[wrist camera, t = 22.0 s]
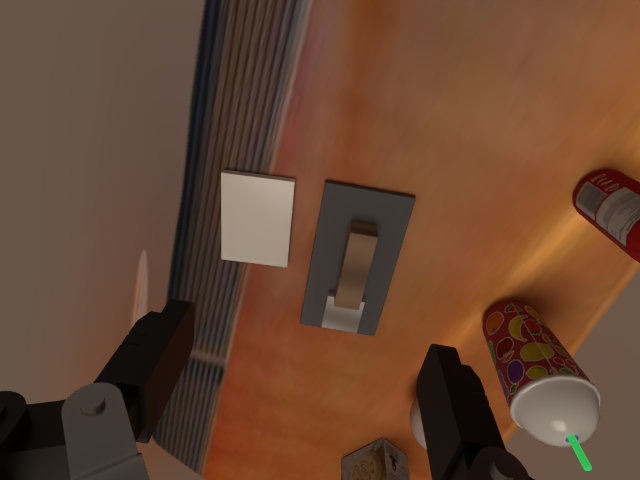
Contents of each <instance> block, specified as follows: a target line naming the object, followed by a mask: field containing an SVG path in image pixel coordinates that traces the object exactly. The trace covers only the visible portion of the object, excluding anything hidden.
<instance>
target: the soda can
mask: <svg viewBox="0 0 640 480" xmlns="http://www.w3.org/2000/svg"><path fill="white" fill-rule="evenodd" d="M573 205H574V207H575V209H576V210H577V212H578V213H579V214H580V215H582V216H583V217H584V218H585V219H586V220H588V221H589V222H590V223H591V224H592V225H594V226H595V227H596V228H597V229H598V230H600V231H601V232H602V233H603V234H604V235H606V236H607V237H608V238H609V239H610V240H612V241H613V242H614V243H615V244H616V245H618V246H619V247H620V248H621V249H622V250H623V251H625V252H626V253H627V254H628V255H629V256H631V257H632V258H633V259H635V260H636V261H638V262H639V263H640V182H638V181H636V180H634V179H633V178H631V177H629V176H627V175H625V174H624V173H622V172H620V171H617V170H612V169H605V170H600V171H597V172H595V173H592V174H591V175H589V176H588V177H586V178H585V179H584V180H583V181H582V182H581V183H580V184H579V186H578V187H577V189H576V191H575V193H574V195H573Z"/></svg>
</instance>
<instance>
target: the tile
mask: <svg viewBox="0 0 640 480" xmlns="http://www.w3.org/2000/svg"><path fill="white" fill-rule="evenodd" d="M295 180H296V179H293V178H285V177H277V176H270V175H262V174H254V173H246V172H239V171H231V170H223V171H222V173H221V219H222V259H225V260H233V261H241V262H249V263H257V264H265V265H272V266H280V267H287V265H288V259H289V248H290V237H291V225H292V214H293V203H294V191H295Z"/></svg>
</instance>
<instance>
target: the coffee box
mask: <svg viewBox="0 0 640 480" xmlns="http://www.w3.org/2000/svg"><path fill="white" fill-rule="evenodd" d="M341 480H410V477H409V470H408V463H407V456H406V455H405V454H404V453H402V452H401V451H400V450H398V449H397V448H396V447H395V446H393V445H392V444H391V443H389V442H388V441H387V440H386V439H384V438H381V439H379V440H377V441H375V442H373V443H371V444H369V445H367V446H365V447H363V448H361V449H360V450H358V451H356V452H354V453H352V454H350V455H348V456H346V457H344V458H342V459H341Z"/></svg>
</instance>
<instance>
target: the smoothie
mask: <svg viewBox="0 0 640 480" xmlns="http://www.w3.org/2000/svg"><path fill="white" fill-rule="evenodd" d="M483 332H484V335H485V338H486V341H487V344H488V347H489V350H490V353H491V356H492V359H493V362H494V365H495V368H496V371H497V374H498V377H499V380H500V383H501V386H502V389H503V392H504V394H505V397H506V400H507V403H508V406H509V409H510V413H511V418H512V419H513V420H514V422H515V423H516V424H517V425H518V426H519V427H521V428H522V429H524V430H525V431H526V432H528V433H529V434H530V435H531V436H533V437H535V438H536V439H538V440H539V441H541V442H543V443H545V444H548V445H551V446H555V447H566V448H567V447H573V449H574V451H575V453H576V455H577V456H578V459H579V461H580V462H581V464H582V466H583V468H584V470H585V471H590V470H591V469H592V467H591V465H590V463H589V461H588V459H587V458H586V456H585V454H584V452H583V450H582V448H581V447H580V444H582V443H584V442H585V441H587V440H588V439H589V438H590V437H591V436H592V435H593V434H594V432H595V430H596V428H597V426H598V424H599V420H600V409H599V407H600V405H601V402H600V393H599V391H598V390H597V388H596V386H595V385H594V384H593V383H591V382H590V380H589V379H588V378H587V376H586V375H585V374H584V372H583V371H582V370H581V369H580V368H579V366H578V365H577V364H576V362H575V361H574V360H573V358H572V357H571V356H570V354H569V353H568V352H567V351H566V349H565V348H564V347H563V345H562V344H561V343H560V342H559V340H558V339H557V338H556V336H555V335H554V334H553V332H552V331H551V330H550V329H549V327H548V326H547V325H546V323H545V322H544V321H543V320H542V318H541V317H540V316H539V314H538V313H537V312H536V311H535V309H533V308H532V307H530V306H529V305H526V304H523V303H522V302H519V301H515V300H507V301H503V302H500V303H498V304H496V305H494V306H493V307H491V308H490V309H489V310H488V312H487V313H486V315H485V319H484V322H483Z"/></svg>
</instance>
